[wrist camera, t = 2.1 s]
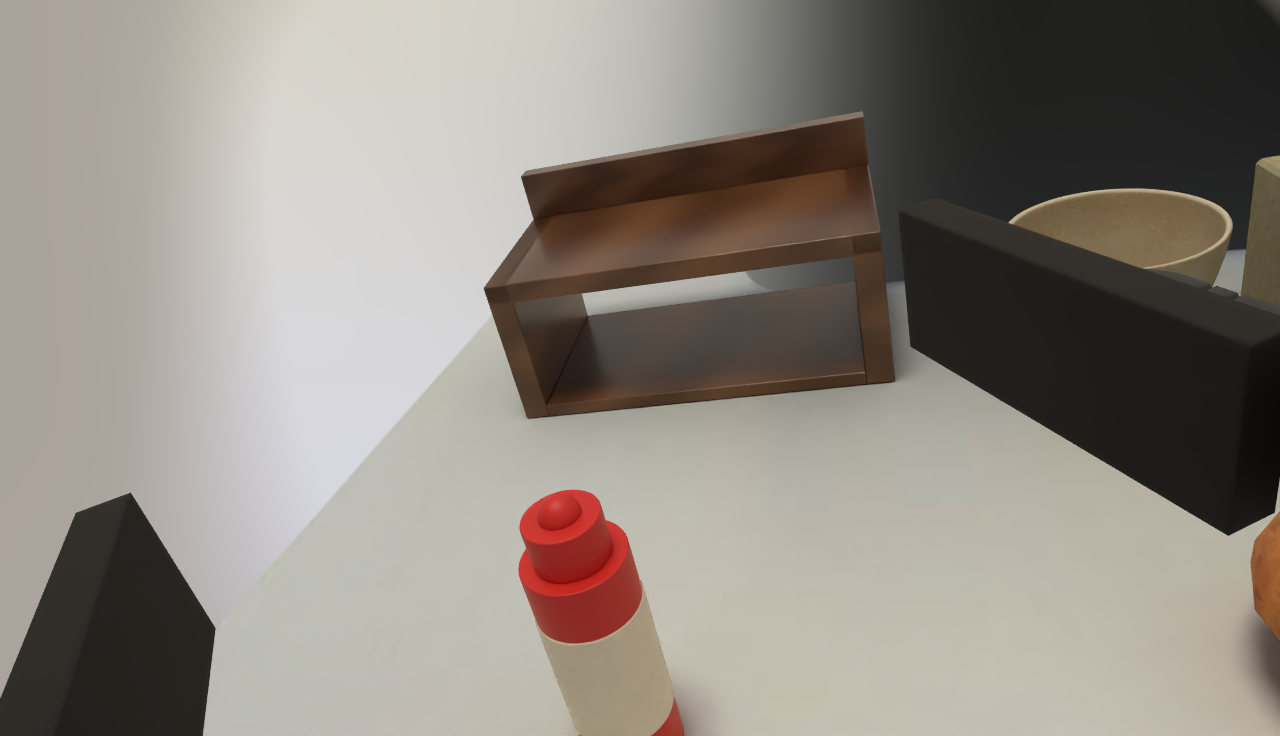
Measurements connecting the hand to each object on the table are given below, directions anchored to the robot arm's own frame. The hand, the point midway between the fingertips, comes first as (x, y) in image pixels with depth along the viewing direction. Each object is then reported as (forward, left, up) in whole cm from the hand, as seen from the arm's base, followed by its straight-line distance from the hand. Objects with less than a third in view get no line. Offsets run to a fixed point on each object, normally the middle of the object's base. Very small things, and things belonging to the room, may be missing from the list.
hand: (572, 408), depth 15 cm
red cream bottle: (-5, +8, -19) cm, 22 cm away
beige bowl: (+17, +32, -20) cm, 42 cm away
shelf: (-5, +37, -19) cm, 42 cm away
